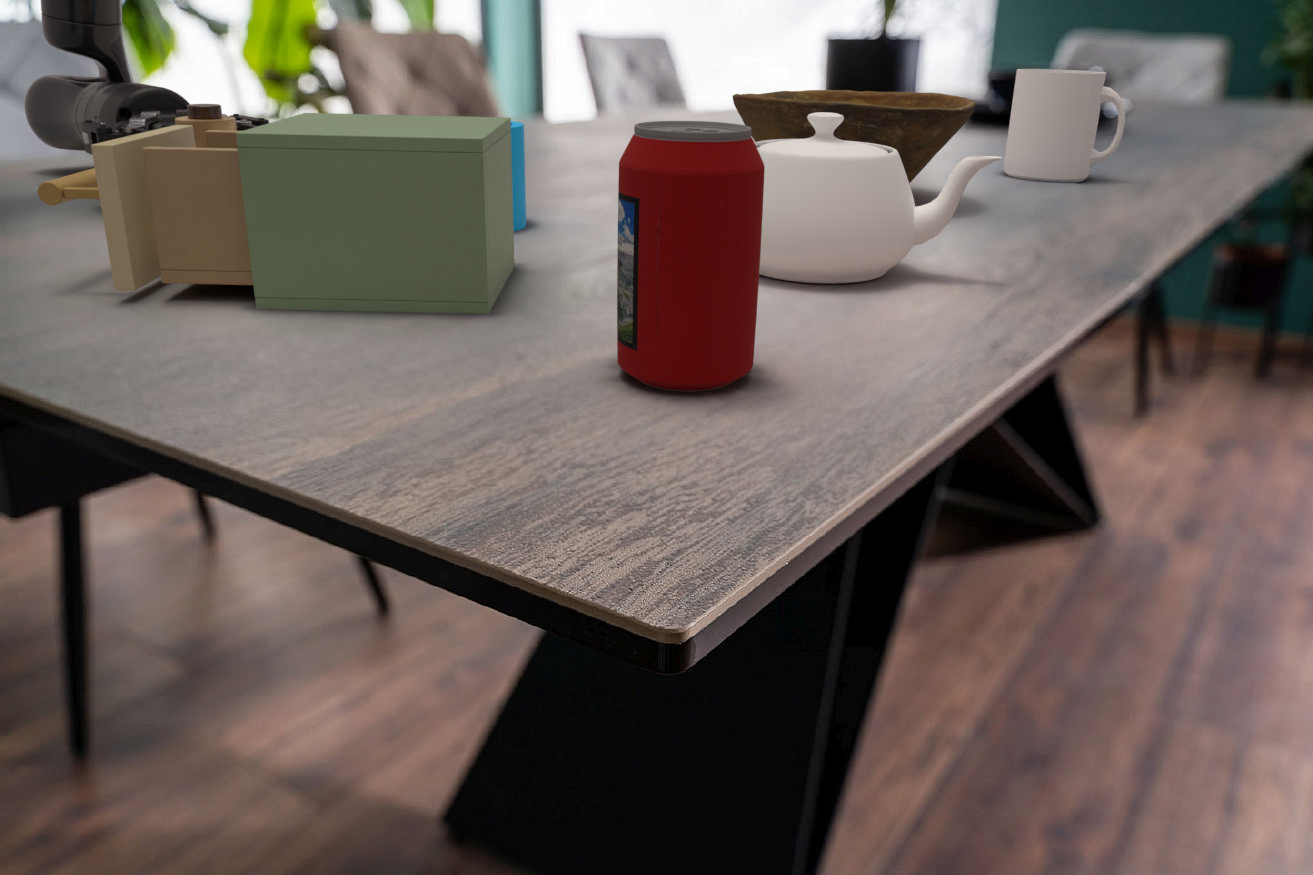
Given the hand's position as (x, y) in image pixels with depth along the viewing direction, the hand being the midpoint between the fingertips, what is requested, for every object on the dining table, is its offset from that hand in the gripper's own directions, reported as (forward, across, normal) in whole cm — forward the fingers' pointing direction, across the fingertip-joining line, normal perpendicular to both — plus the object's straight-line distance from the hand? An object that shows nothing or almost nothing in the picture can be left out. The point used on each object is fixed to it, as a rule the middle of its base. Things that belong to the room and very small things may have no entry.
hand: (211, 144), depth 87 cm
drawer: (+22, -9, +5) cm, 25 cm away
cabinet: (+30, -1, +6) cm, 30 cm away
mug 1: (+13, +16, +6) cm, 21 cm away
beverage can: (+54, +1, +6) cm, 55 cm away
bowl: (+24, +52, +6) cm, 57 cm away
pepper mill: (-1, 0, +6) cm, 6 cm away
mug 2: (+28, +86, +6) cm, 90 cm away
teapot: (+44, +26, +6) cm, 51 cm away
